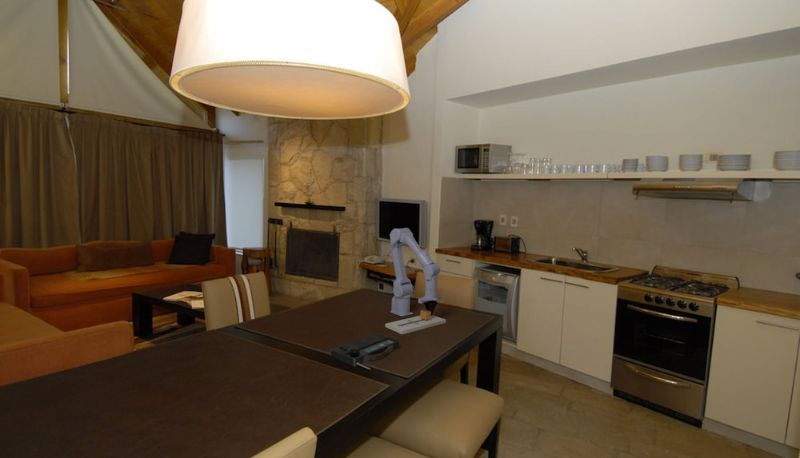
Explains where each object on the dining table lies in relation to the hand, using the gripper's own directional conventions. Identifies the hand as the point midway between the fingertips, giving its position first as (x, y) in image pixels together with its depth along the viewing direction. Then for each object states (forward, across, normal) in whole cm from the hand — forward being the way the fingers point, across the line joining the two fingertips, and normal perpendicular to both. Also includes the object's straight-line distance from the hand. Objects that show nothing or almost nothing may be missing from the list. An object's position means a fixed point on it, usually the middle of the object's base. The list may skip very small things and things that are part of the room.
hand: (429, 315), depth 197 cm
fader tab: (+1, -3, 0) cm, 3 cm away
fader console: (+3, -9, 0) cm, 9 cm away
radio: (+4, -46, -16) cm, 49 cm away
